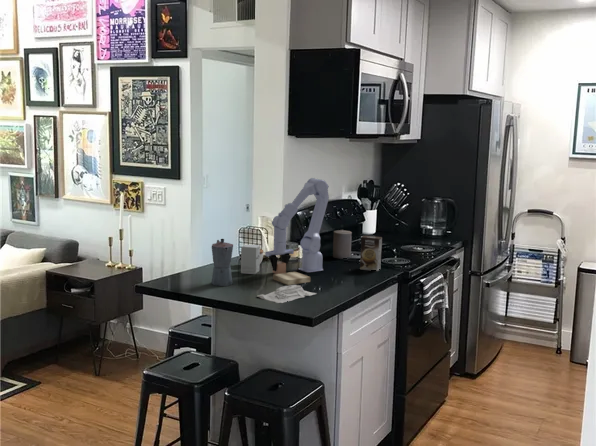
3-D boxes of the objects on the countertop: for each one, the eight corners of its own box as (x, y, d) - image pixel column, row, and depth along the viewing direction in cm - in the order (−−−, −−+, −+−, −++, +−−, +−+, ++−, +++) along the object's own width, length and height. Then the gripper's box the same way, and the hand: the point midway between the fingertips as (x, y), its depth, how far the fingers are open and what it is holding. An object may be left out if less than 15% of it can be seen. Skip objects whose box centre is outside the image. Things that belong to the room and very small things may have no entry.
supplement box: (255, 274, 287) (256, 247, 285) (240, 273, 288) (240, 246, 286) (259, 271, 294) (260, 244, 292) (244, 270, 295) (245, 243, 293)
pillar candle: (328, 256, 332) (329, 228, 330) (341, 254, 339) (342, 227, 336) (342, 259, 325) (343, 231, 323) (354, 257, 332) (355, 229, 329)
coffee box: (359, 269, 303) (360, 236, 300) (363, 266, 309) (364, 235, 306) (377, 271, 299) (379, 238, 297) (380, 268, 305) (382, 236, 303)
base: (295, 276, 285) (295, 271, 285) (310, 281, 275) (310, 277, 275) (273, 279, 278) (273, 274, 278) (287, 285, 269) (287, 280, 268)
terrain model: (253, 302, 247) (253, 290, 246) (285, 288, 266) (285, 277, 265) (288, 309, 238) (288, 296, 237) (319, 294, 257) (319, 282, 256)
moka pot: (216, 288, 259) (217, 241, 256) (204, 280, 273) (204, 235, 270) (238, 286, 264) (238, 240, 261) (225, 278, 277) (225, 234, 274)
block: (280, 271, 294) (280, 261, 293) (285, 273, 290) (286, 263, 289) (272, 272, 291) (272, 262, 291) (277, 274, 288) (277, 264, 287)
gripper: (288, 239, 296) (287, 266, 298) (262, 241, 288) (261, 270, 290) (296, 241, 290) (295, 269, 292) (270, 243, 282) (269, 273, 284)
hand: (279, 270), depth 291 cm, fingers closed on block, 4 cm apart
